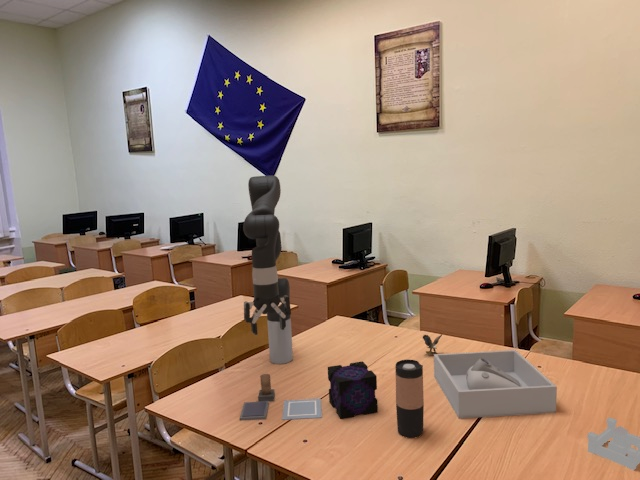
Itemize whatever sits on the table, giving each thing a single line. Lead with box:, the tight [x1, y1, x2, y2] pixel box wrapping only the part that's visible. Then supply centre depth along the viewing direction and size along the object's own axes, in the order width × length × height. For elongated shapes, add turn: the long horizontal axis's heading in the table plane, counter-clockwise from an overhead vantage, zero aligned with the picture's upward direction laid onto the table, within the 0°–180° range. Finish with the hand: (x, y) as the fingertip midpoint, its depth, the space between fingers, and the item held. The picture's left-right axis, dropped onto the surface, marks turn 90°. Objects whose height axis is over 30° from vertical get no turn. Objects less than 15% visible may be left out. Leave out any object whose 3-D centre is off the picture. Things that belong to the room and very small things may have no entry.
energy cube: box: [327, 361, 379, 420], centre depth 154 cm, size 12×12×12 cm
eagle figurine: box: [422, 333, 443, 357], centre depth 193 cm, size 8×7×9 cm
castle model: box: [586, 417, 640, 471], centre depth 123 cm, size 15×15×7 cm
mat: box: [281, 398, 323, 421], centre depth 154 cm, size 12×12×1 cm
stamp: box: [257, 373, 276, 403], centre depth 162 cm, size 5×5×8 cm
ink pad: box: [239, 401, 270, 421], centre depth 154 cm, size 10×8×1 cm
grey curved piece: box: [466, 358, 522, 390], centre depth 159 cm, size 16×17×11 cm
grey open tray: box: [433, 349, 558, 419], centre depth 158 cm, size 29×29×8 cm
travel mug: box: [394, 359, 425, 439], centre depth 137 cm, size 8×8×20 cm
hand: (268, 331), depth 151 cm, fingers open, 8 cm apart
